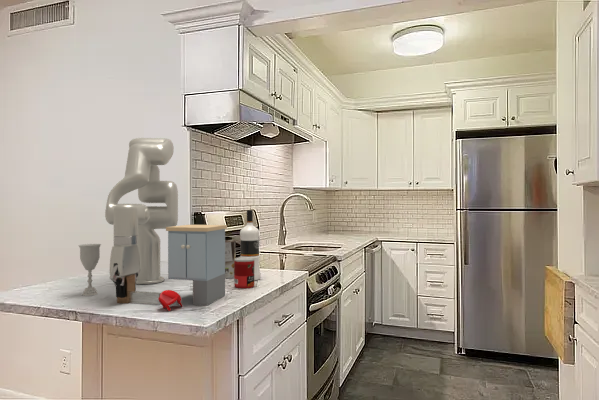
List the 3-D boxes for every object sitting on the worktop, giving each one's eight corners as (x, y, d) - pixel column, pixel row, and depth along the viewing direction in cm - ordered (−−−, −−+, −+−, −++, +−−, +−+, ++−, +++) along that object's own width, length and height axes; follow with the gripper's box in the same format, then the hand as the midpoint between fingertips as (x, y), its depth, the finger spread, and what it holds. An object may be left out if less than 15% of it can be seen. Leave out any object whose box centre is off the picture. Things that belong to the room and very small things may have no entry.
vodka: (240, 277, 176) (240, 209, 176) (261, 277, 176) (261, 209, 177) (237, 281, 167) (237, 210, 167) (259, 281, 167) (259, 210, 167)
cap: (162, 303, 119) (179, 290, 122) (153, 293, 123) (170, 281, 126) (172, 319, 124) (188, 306, 127) (163, 309, 128) (178, 297, 131)
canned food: (250, 289, 153) (250, 260, 153) (231, 288, 154) (231, 259, 154) (257, 285, 160) (256, 257, 160) (238, 284, 162) (238, 257, 162)
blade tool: (117, 302, 132) (116, 275, 132) (124, 300, 136) (124, 273, 136) (156, 305, 129) (156, 277, 129) (163, 302, 133) (163, 275, 133)
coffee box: (234, 278, 174) (234, 241, 174) (219, 278, 174) (219, 241, 174) (235, 274, 183) (235, 239, 183) (221, 274, 183) (221, 239, 183)
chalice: (78, 297, 140) (78, 246, 140) (78, 293, 146) (78, 244, 146) (101, 295, 144) (101, 245, 144) (101, 291, 150) (100, 243, 150)
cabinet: (164, 304, 130) (164, 227, 131) (189, 293, 146) (188, 224, 146) (206, 307, 127) (206, 227, 127) (227, 295, 142) (226, 225, 142)
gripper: (132, 238, 143) (132, 289, 143) (98, 243, 127) (98, 301, 127) (150, 239, 141) (150, 290, 141) (118, 244, 125) (118, 302, 125)
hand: (125, 294), depth 134 cm, fingers open, 4 cm apart
